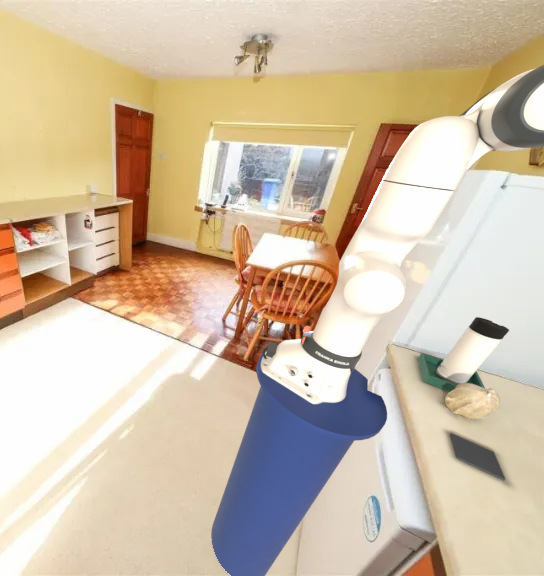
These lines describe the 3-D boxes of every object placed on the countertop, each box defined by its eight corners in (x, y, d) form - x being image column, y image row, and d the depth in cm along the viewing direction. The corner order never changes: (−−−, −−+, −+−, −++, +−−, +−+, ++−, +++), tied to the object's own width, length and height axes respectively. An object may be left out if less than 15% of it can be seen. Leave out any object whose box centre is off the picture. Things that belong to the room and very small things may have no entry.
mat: (456, 458, 57) (458, 457, 57) (449, 434, 62) (450, 432, 62) (504, 480, 54) (505, 479, 53) (492, 453, 59) (493, 451, 58)
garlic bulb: (465, 414, 70) (502, 390, 66) (484, 437, 63) (526, 411, 59) (427, 390, 73) (460, 366, 69) (441, 409, 66) (479, 383, 62)
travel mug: (429, 372, 80) (469, 316, 71) (443, 368, 82) (484, 313, 73) (454, 388, 75) (502, 330, 65) (469, 384, 77) (517, 327, 67)
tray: (423, 381, 77) (427, 375, 76) (417, 358, 86) (421, 352, 85) (484, 405, 71) (490, 398, 70) (471, 377, 80) (476, 371, 79)
